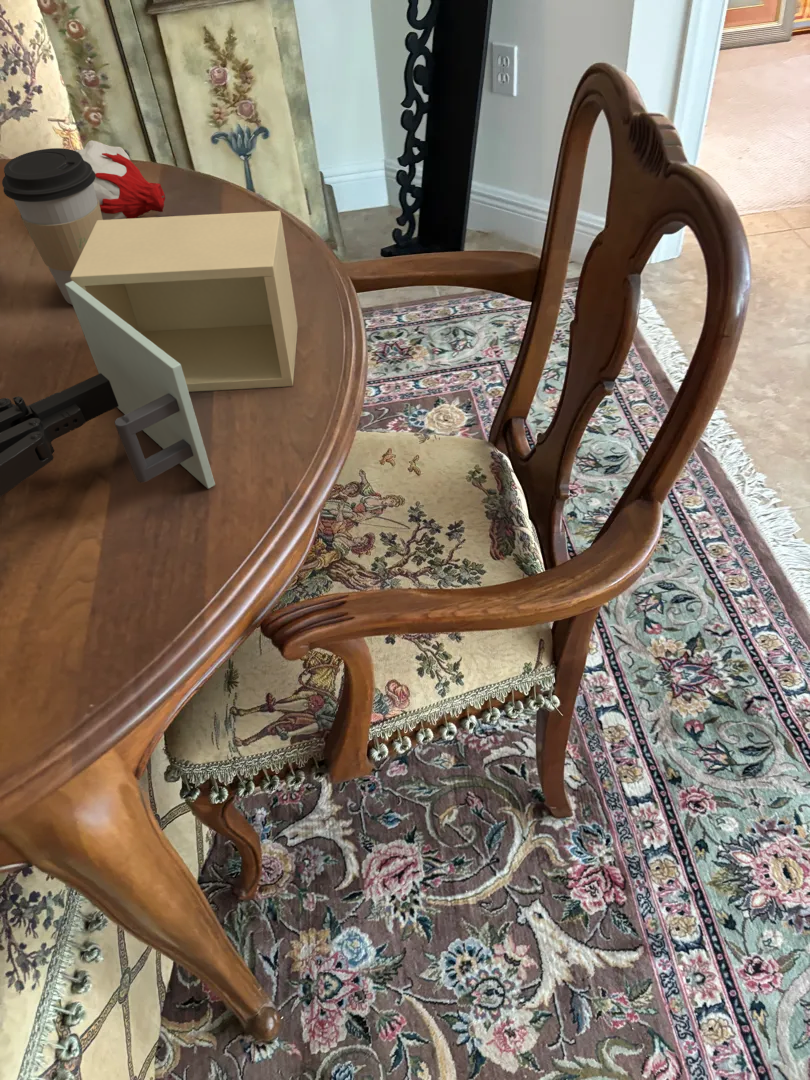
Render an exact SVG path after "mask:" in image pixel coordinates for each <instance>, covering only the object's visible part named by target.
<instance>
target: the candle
mask: <svg viewBox="0 0 810 1080" xmlns="http://www.w3.org/2000/svg"><path fill="white" fill-rule="evenodd" d="M73 150H74V151H76V152H78V153H79V154H80V155H81V156H82V158H83V160H84V161H86V162H88V163H89V164H90V165H91V166H92V170H93V171H94V172H95V175H96V177H95V180H94V182H93V184H94V189H95V193H96V198H97V199H98V201H99V205H100V209H101V214H102V219H103V220H113V219H132V218H139V217H141V216H143V215H145V214H147V213H149V212H150V211H152V212H157V213H164V207H165V201H166V195H165V192H164V189H163V187H162V185H161V183H157V182H149V181H148V180H146V178H145V177H144V176H143V174H142V173H141V171H140V169H139V167H137V166H136V164H135V163H133V161H132V160H131V158H130V156H129V155H128V153H127V152H126V151H125V150H124V149H123V147H121V146H112V145H108V144H105V143H102V142H100V141H96V140H88V142H87V143H86V144H85V145H84V148H83V149H79V150H78V149H73Z"/></svg>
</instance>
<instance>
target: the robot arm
mask: <svg viewBox="0 0 810 1080" xmlns="http://www.w3.org/2000/svg"><path fill="white" fill-rule="evenodd" d="M12 400H13V402H14V403H12V401H11V399H10V398H8V397H2V398H0V498H1V497H2V496H4V495H6V494H7V493H8V492H10V491H11V490H12V489H14V488H15V487H17V486H18V485H20V484H21V483H23V482H24V481H26V480H27V479H28V478H29V477H31V476H32V475H34V474H35V473H37V472H38V471H39V470H41V469H42V468H44V467H45V466H47V465H48V464H49V463H51V462H52V461H53V459H54V454H55V449H54V446H53V444H52V442H53V441H54V440H56V439H58V438H60V437H61V436H64V435H67V434H68V433H70V432H72V431H74V430H76V429H78V428H81V427H82V426H83V425H84V424H86V423H87V422H89V421H91V420H93V419H95V418H98V417H100V416H102V415H104V414H105V413H108V412H109V411H111V410H114V409H116V408H117V407H118V406H119V405H118V403H117V400H116V397H115V395H114V392H113V389H112V387H111V384H110V381H109V380H108V379H107V378H106V377H105V376H104V375H102V374H101V373H100V374H99V373H98V374H96V375H94V376H92V377H90V378H87V379H85V380H83V381H81V382H79V383H77V384H74V385H72V386H70V387H68V388H65V389H64V390H61V391H58V392H55V393H53V394H51V395H48V396H46V397H44V398H42V399H39V400H38V401H36V402H33V403H31V404H29V405H28V404H26V402H25V400H24V398H23V397H22V396H13V397H12Z"/></svg>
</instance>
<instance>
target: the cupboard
mask: <svg viewBox="0 0 810 1080" xmlns="http://www.w3.org/2000/svg"><path fill="white" fill-rule="evenodd" d="M287 252H288V251H287V244H286V239H285V231H284V225H283V218H282V211H281V210H269V211H268V210H267V211H249V212H231V213H230V212H229V213H211V214H209V213H208V214H189V216H188V215H174V216H173V215H172V216H152V217H137V218H132V219H113V220H97V222H96V224H95V226H94V228H93V230H92V232H91V234H90V236H89V238H88V240H87V243H86V245H85V247H84V249H83V251H82V253H81V255H80V257H79V259H78V261H77V263H76V266H75V268H74V270H73V272H72V274H71V276H70V278H71V280H72V281H73V282H75V283H76V284H77V285H79V286H80V287H81V288H83V289H84V290H85V291H86V292H88V293H89V294H90V295H92V296H93V297H94V298H95V299H97V300H98V301H99V302H101V303H102V304H103V305H105V306H106V307H107V308H108V309H110V310H111V311H112V312H114V313H115V314H116V315H117V316H119V317H120V318H121V319H123V320H124V321H125V322H127V323H128V324H129V325H130V326H132V327H133V328H134V329H136V330H137V331H138V332H139V333H141V334H142V335H143V336H145V337H146V338H147V339H149V340H150V341H151V342H152V343H154V344H155V345H156V346H158V347H159V348H160V349H161V350H163V351H164V352H165V353H167V354H168V355H169V356H171V357H172V358H173V359H174V360H176V361H177V362H178V363H180V364H181V367H182V371H183V374H184V378H185V381H186V385H187V388H188V391H189V393H191V392H192V393H193V392H208V391H209V392H210V391H227V390H246V389H248V390H249V389H263V388H264V389H265V388H266V389H267V388H281V387H284V388H285V387H294V378H295V377H294V376H295V368H296V367H295V365H296V352H297V342H298V341H297V340H298V330H299V325H298V324H299V323H298V318H297V317H298V316H297V312H296V311H297V310H296V305H295V298H294V297H295V296H294V291H293V285H292V277H291V272H290V265H289V258H288V253H287Z"/></svg>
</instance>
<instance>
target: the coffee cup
mask: <svg viewBox="0 0 810 1080" xmlns="http://www.w3.org/2000/svg"><path fill="white" fill-rule="evenodd" d="M74 150H75V149H69V148H62V147H54V148H43V149H37V150H33V151H29V152H25V153H23V154H21V155H17V156H16V157H14V158H12V159H10V160H9V161H8V162H6V164H5V166H4V167H3V174H4V177H2V181H1V185H2V188H3V190H2V191H3V193H4V195H5V196H6V197H7V198H9V199H12V200H13V201H14V203H15V205H16V207H17V210H18V212H19V214H20V218H21V221H22V222H23V225H24V227H25V228H26V230H27V232H28V234H29V236H30V238H31V240H32V242H33V244H34V245H35V248H36V250H37V251H38V253H39V255H40V258H41V259H42V262H43V263H44V264H45V265H46V267H47V268H48V270H49V272H50V274H51V276H52V277H53V279H54V281H55V283H56V285H57V288H58V289H59V291H60V293H61V295H62V297H63V298H64V300H65V302H66V303H67V304H69V305H72V302H71V299H70V297H69V294H68V291H67V289H66V286H65V284H66V283H68V282H71V281H72V280H71V278H70V276H71V274H72V272H73V270H74V268H75V266H76V263H77V261H78V259H79V257H80V255H81V253H82V251H83V249H84V247H85V245H86V243H87V240H88V238H89V236H90V234H91V232H92V230H93V228H94V226H95V224H96V222H97V220H103V219H102V214H101V209H100V205H99V201H98V199H97V198H96V193H95V189H94V184H93V182H94V180H95V177H96V175H95V172H94V171H93V170H92V166H91V165H90V164H89V163H88V162H86V161H84V160H83V158H82V156H81V155H80V154H79V153H78V152H76V151H74ZM72 306H73V305H72Z"/></svg>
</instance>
